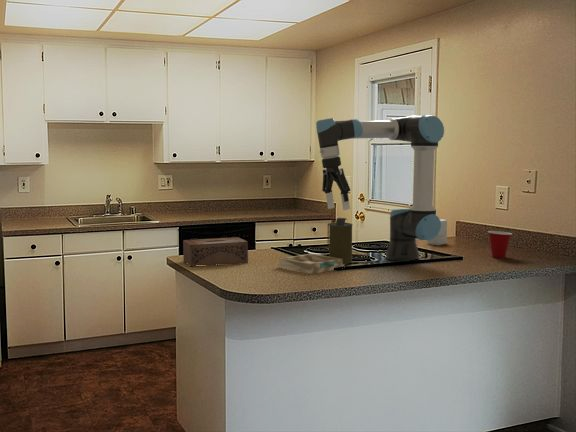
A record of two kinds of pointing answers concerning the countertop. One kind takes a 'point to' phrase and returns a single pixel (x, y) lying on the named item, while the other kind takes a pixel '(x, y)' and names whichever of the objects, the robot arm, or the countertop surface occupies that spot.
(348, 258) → the canister
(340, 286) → the countertop surface
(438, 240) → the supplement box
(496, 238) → the plastic cup
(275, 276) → the countertop surface
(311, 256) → the square tray
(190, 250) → the tissue box cover
